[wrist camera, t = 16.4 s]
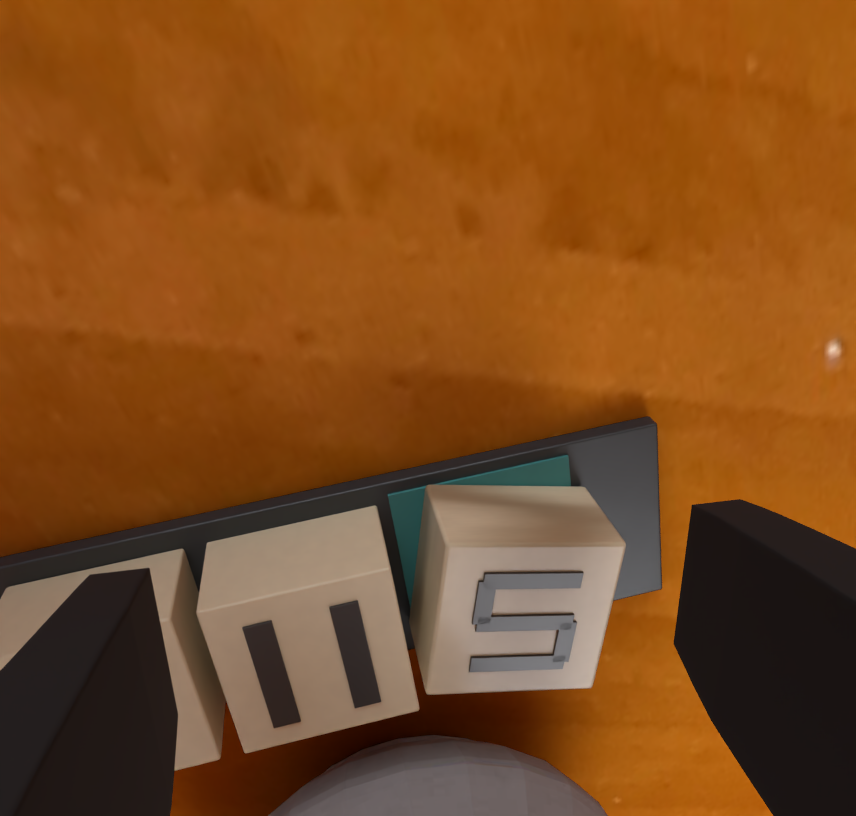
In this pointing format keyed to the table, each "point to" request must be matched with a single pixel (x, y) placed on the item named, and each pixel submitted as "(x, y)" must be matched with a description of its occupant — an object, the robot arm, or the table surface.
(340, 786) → the coffee pot
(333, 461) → the table surface
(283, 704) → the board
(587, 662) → the tile
